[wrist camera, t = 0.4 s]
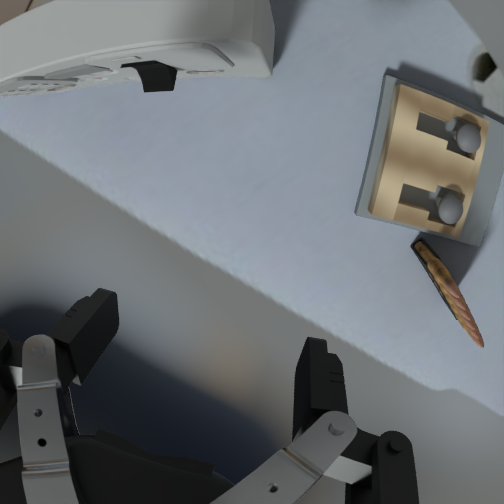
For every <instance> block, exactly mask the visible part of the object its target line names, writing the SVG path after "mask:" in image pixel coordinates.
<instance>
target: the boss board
mask: <svg viewBox="0 0 504 504" xmlns="http://www.w3.org/2000/svg"><path fill="white" fill-rule="evenodd" d="M400 84H401V85H404V86H407V87H410V88H413V89H416V90H418V91H421V92H424V93H426V94H429V95H431V96H434V97H436V98H439V99H441V100H444V101H446V102H448V103H451V104H453V105H455V106H458V107H460V108H462V109H464V110H466V111H469V112H471V113H473V114H475V115H477V116H479V117H481V118H483V119H485V120H487V121H489V127H488V132H487V138H486V143H485V147H484V152H483V157H482V161H481V165H480V169H479V173H478V177H477V181H476V185H475V188H474V192H473V196H472V199H471V202H470V206H469V209H468V212H467V215H466V219H465V222H464V225H463V228H462V231H461V233H460V236H459V238H457V237H454V236H450V235H447V234H443V233H440V232H436V231H432V230H429V229H425V228H421V227H417V226H414V225H410V224H406V223H402V222H398V221H394V220H390V219H386V218H382V217H378V216H374V215H371V214H370V212H369V211H368V210H367V209H368V206H369V202H370V198H371V194H372V190H373V186H374V182H375V178H376V174H377V170H378V166H379V162H380V157H381V153H382V148H383V144H384V139H385V134H386V130H387V125H388V120H389V114H390V109H391V104H392V98H393V92H394V87H395V86H396V85H400ZM416 130H419V131H422V132H425V133H427V134H430V135H433V136H436V137H438V138H441V139H444V140H446V141H448V144H447V148H446V149H447V150H449V151H452V152H455V153H457V154H460V155H462V156H465V157H466V156H467V152H468V153H474V152H476V151H477V150H478V149H479V147H480V145H481V135H480V132H479V130H478V129H477V128H476V127H475V126H473V125H470V124H468V123H466V122H464V121H461V120H459V119H457V118H455V117H453V118H452V122H449V121H442V120H440V119H437V118H435V117H432V116H430V115H427V114H424V113H421V112H419V116H418V121H417V126H416ZM503 169H504V125H503V124H501V123H499V122H497V121H496V120H494V119H492V118H490V117H488V116H486V115H484V114H482V113H480V112H478V111H476V110H474V109H472V108H470V107H468V106H465V105H463V104H461V103H459V102H457V101H454V100H452V99H450V98H447V97H445V96H443V95H440V94H438V93H435V92H433V91H430V90H428V89H425V88H423V87H420V86H417V85H415V84H412V83H409V82H406V81H403V80H400V79H398V78H395V77H391V76H388V75H385V76H383V81H382V87H381V93H380V99H379V104H378V110H377V115H376V120H375V125H374V130H373V135H372V140H371V144H370V149H369V153H368V158H367V162H366V167H365V171H364V175H363V179H362V184H361V188H360V192H359V196H358V200H357V204H356V207H355V211H354V213H355V214H356V215H357V216H361V217H365V218H370V219H374V220H378V221H382V222H386V223H390V224H395V225H399V226H403V227H407V228H410V229H414V230H418V231H422V232H426V233H430V234H433V235H437V236H441V237H444V238H448V239H452V240H455V241H459V242H462V243H466V244H469V245H473V246H476V247H480V245H481V242H482V239H483V237H484V234H485V231H486V228H487V225H488V222H489V219H490V216H491V213H492V210H493V206H494V203H495V200H496V196H497V193H498V189H499V185H500V182H501V178H502V174H503ZM456 195H457V191H454V190H451V189H448V188H445V187H442V186H439V185H437V188H436V192H435V193H434V192H431V191H428V190H424V189H421V188H418V187H415V186H411V185H408V184H404V183H403V186H402V190H401V194H400V198H399V200H400V201H404V202H407V203H411V204H414V205H418V206H421V207H424V208H425V209H426V210H428V211H429V216H428V217H432V218H435V219H439V220H442V221H444V222H445V223H447V224H454V223H456V222H457V221H459V219H460V218H461V216H462V214H463V204H462V202H461V200H460V199H458V198H457V197H456Z"/></svg>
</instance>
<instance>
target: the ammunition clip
mask: <svg viewBox="0 0 504 504" xmlns="http://www.w3.org/2000/svg"><path fill="white" fill-rule="evenodd" d="M410 247H411V248H412V250H413V251H414V253H415V254H416V256H417V257H418V259H419V261H420V262H421V264H422V265H423V267H424V269H425V270H426V272H427V273H428V275H429V277H430V278H431V280H432V282H433V283H434V285H435V287H436V288H437V290H438V292H439V293H440V295H441V297H442V299H443V300H444V302H445V303H446V305H447V306H448V308H449V309H450V311H451V312H452V314H453V315H454V317H455V318H456V320H458V321H459V322H460V324H461V325H462V327H463V328H464V330H466V331H467V332H468V334H469V335H470V336H471V338H472V339H473V341H474V342H475V343H476V344H477V345H479V346H480V347H482V348H483V347H484V342H483V338H482V336H481V334H480V332H479V329H478V327H477V325H476V323H475V320H474V318H473V316H472V314H471V312H470V310H469V308H468V306H467V304H466V302H465V299H464V297H463V295H462V294H461V292H460V290H459V287H458V286H457V284H456V282H455V281H454V280H453V278H452V276H451V275H450V273H449V271H448V269H447V268H446V267H445V266H444V264H443V263H442V262H441V260H440V258H439V256H438V255H437V254H436V253H435V252H434V250H433V249H432V248H431V247H430V246H429V245H428V244H427V243H426V242H425V240H424V239H423V238H422V237H421V238H420V239H419V240H417V241H416V242H415V243H413V244H412V245H411V246H410Z"/></svg>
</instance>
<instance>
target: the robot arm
mask: <svg viewBox="0 0 504 504" xmlns="http://www.w3.org/2000/svg"><path fill="white" fill-rule="evenodd" d="M118 327H119V313H118V301H117V294H116V293H115V292H113V291H109V290H106V289H102V288H98V289H97V290H96V291H95V292H94V293H93V295H91V297H88V296H86V297H84V298H82V299H80V300H78V301H77V302H76V303H75V304H74V305H73V306H72V307H71V308H70V310H68V311H67V312H66V313H65V316H63V317H62V318H61V319H60V320H59V321H58V322H57V323H56V324H55V325H54V326H53V327H52V329H51V330H50V331H49V332H48V333H47V334H46V335H36V336H32V337H30V338H29V339H28V340H26V342H18V341H11V340H9V337H8V334H7V332H6V331H5V330H3V329H0V430H1V428H2V427H3V425H4V423H5V421H6V420H7V418H8V416H9V415H10V413H11V412H12V410H13V408H14V407H15V405H16V404H17V402H18V420H19V432H20V442H21V450H22V456H20V457H17V458H15V459H12V460H9V461H6V462H3V463H1V464H0V504H295V503H296V502H297V501H298V500H299V499H300V498H301V497H302V496H303V495H304V494H305V493H306V492H307V491H308V490H309V489H310V488H311V487H312V486H313V485H314V484H315V483H316V482H317V481H318V480H319V479H320V478H321V477H322V475H326V476H329V477H332V478H335V479H338V480H341V481H343V482H346V488H345V504H419V497H418V487H417V479H416V470H415V463H414V455H413V449H412V444H411V442H410V440H409V439H408V438H407V437H406V436H405V435H404V434H402V433H400V432H397V431H387V432H385V433H383V434H382V435H381V436H380V437H379V436H376V435H373V434H370V433H367V432H365V431H362V430H360V429H359V428H357V426H356V423H355V421H354V420H353V419H352V418H351V417H350V416H349V415H348V407H347V398H346V390H345V384H344V376H343V366H342V363H341V361H340V360H339V358H338V356H337V355H336V354H332V353H328V352H327V342H326V340H324V339H318V338H312V337H307V339H306V342H305V344H304V347H303V350H302V353H301V355H300V358H299V361H298V363H297V367H296V372H295V381H294V383H295V385H294V409H293V431H292V444H291V445H290V446H289V447H288V448H286V449H285V448H283V449H281V450H279V451H278V452H277V453H276V454H274V455H273V456H272V457H271V458H270V459H268V460H267V461H266V462H265V463H263V464H262V465H261V466H260V467H259V468H257V469H256V470H255V471H253V472H252V473H251V474H250V475H248V476H247V477H246V478H244V480H242V481H240V482H239V483H238V484H236V485H234V484H232V483H231V482H230V481H229V480H227V479H226V478H224V477H223V476H221V475H219V474H217V473H215V472H213V468H214V464H210V463H206V462H201V461H197V460H193V459H189V458H185V457H173V456H159V455H152V454H149V453H147V452H146V451H144V450H142V449H140V448H139V447H137V446H136V445H134V444H133V443H131V442H129V441H128V440H126V439H124V438H122V437H119V436H117V435H114V434H111V433H109V432H106V431H103V430H101V429H98V431H97V433H96V435H80V434H79V432H78V429H77V425H76V421H75V417H74V411H73V406H72V401H71V395H70V390H69V385H70V384H71V382H74V383H76V384H79V385H82V383H83V382H84V380H85V379H86V377H87V376H88V374H89V373H90V371H91V370H92V368H93V367H94V365H95V364H96V362H97V361H98V359H99V358H100V356H101V355H102V353H103V352H104V351H105V349H106V348H107V346H108V345H109V343H110V342H111V340H112V339H113V337H114V336H115V335H116V333H117V330H118Z"/></svg>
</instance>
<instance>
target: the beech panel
mask: <svg viewBox="0 0 504 504" xmlns="http://www.w3.org/2000/svg"><path fill="white" fill-rule="evenodd" d="M419 112H421V113H424V114H427V115H430V116H432V117H435V118H437V119H440V120H442V121H449V122H452V118H453V117H455V118H457V119H459V120H461V121H464V122H466V123H468V124H470V125H473V126H475V127H476V128H477V129H478V130H479V132H480V135H481V145H480V147H479V149H478V150H477V151H476V152H474V153H468V152H467V156H466V157H465V156H462V155H460V154H457V153H455V152H452V151H449V150H447V149H446V148H447V144H448V141H446V140H444V139H441V138H438V137H436V136H433V135H430V134H427V133H425V132H422V131H419V130H416V126H417V121H418V116H419ZM488 127H489V121H487V120H485V119H483V118H481V117H479V116H477V115H475V114H473V113H471V112H469V111H466V110H464V109H462V108H460V107H458V106H455V105H453V104H451V103H448V102H446V101H444V100H441V99H439V98H436V97H434V96H431V95H429V94H426V93H424V92H421V91H418V90H416V89H413V88H410V87H407V86H404V85H401V84H400V85H396V86H395V87H394V92H393V98H392V104H391V109H390V114H389V120H388V125H387V130H386V134H385V139H384V144H383V148H382V153H381V157H380V162H379V166H378V170H377V174H376V178H375V182H374V186H373V190H372V194H371V198H370V202H369V206H368V209H367V210H368V211H369V212H370V214H371V215H374V216H378V217H382V218H386V219H390V220H394V221H398V222H402V223H406V224H410V225H414V226H417V227H421V228H425V229H429V230H432V231H436V232H440V233H443V234H447V235H450V236H454V237H457V238H459V236H460V233H461V231H462V228H463V225H464V222H465V219H466V215H467V212H468V209H469V206H470V202H471V199H472V196H473V192H474V188H475V185H476V181H477V177H478V173H479V169H480V165H481V161H482V157H483V152H484V147H485V143H486V138H487V132H488ZM403 183H404V184H408V185H411V186H415V187H418V188H421V189H424V190H428V191H431V192H434V193H435V192H436V188H437V185H439V186H442V187H445V188H448V189H451V190H454V191H457V195H456V197H457V198H458V199H460V200H461V202H462V204H463V214H462V216H461V218H460V219H459V221H457V222H456V223H454V224H447V223H445V222H444V221H442V220H439V219H435V218H432V217H428V216H429V211H428V210H426V209H425V208H424V207H421V206H418V205H414V204H411V203H407V202H404V201H400V200H399V198H400V194H401V190H402V186H403Z"/></svg>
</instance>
